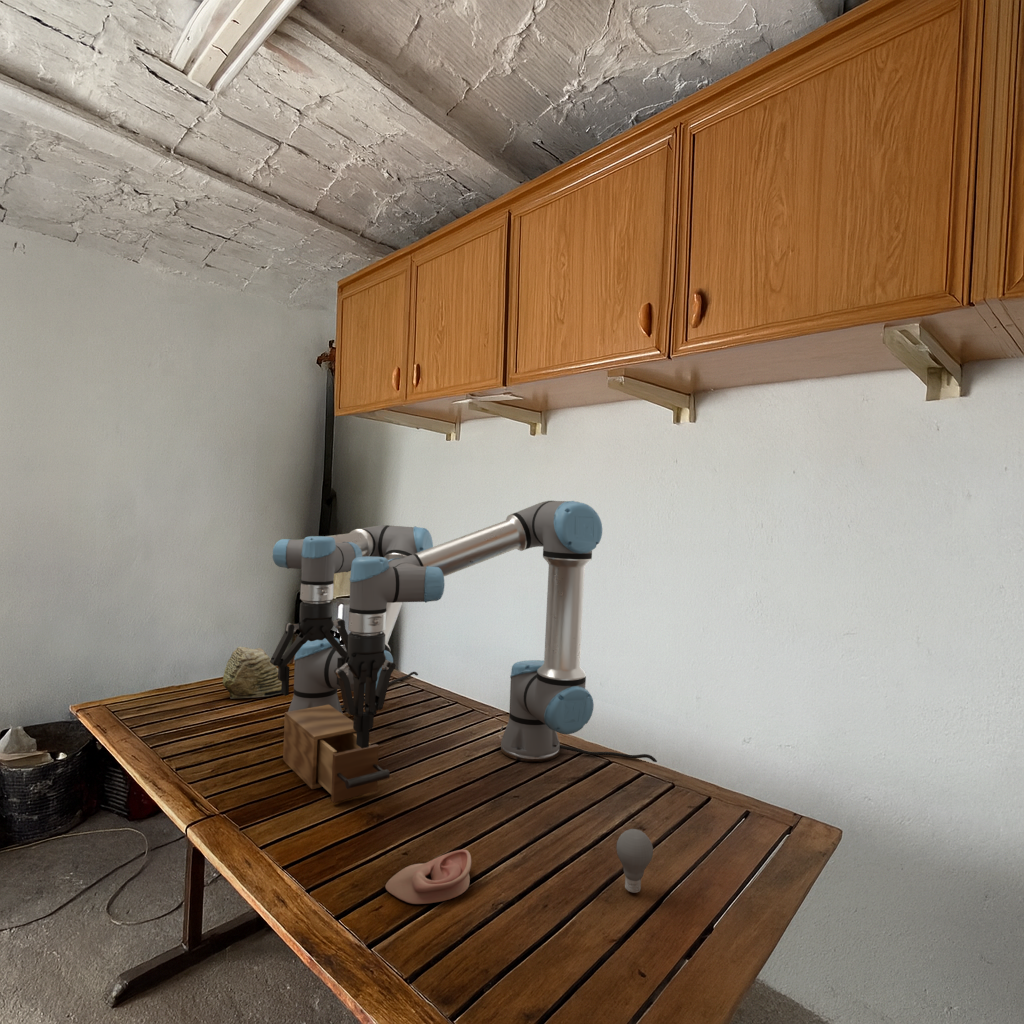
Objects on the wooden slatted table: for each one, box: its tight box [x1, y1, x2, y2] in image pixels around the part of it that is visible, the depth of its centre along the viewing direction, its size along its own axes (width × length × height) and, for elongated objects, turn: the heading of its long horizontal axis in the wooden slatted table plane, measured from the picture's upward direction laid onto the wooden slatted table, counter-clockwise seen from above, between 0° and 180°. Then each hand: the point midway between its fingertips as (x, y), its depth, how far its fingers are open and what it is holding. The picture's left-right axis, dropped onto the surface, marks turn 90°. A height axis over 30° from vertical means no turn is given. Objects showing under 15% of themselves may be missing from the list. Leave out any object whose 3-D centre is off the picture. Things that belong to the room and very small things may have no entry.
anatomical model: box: [385, 849, 472, 905], centre depth 105 cm, size 13×4×12 cm
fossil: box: [222, 646, 282, 699], centre depth 198 cm, size 9×18×15 cm, turn 132°
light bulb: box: [615, 828, 654, 894], centre depth 106 cm, size 6×6×10 cm
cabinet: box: [282, 705, 357, 790], centre depth 147 cm, size 18×11×12 cm, turn 39°
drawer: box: [316, 732, 391, 803], centre depth 137 cm, size 23×10×10 cm, turn 39°
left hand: (313, 689), depth 152 cm, fingers open, 13 cm apart
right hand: (362, 745), depth 131 cm, fingers closed
